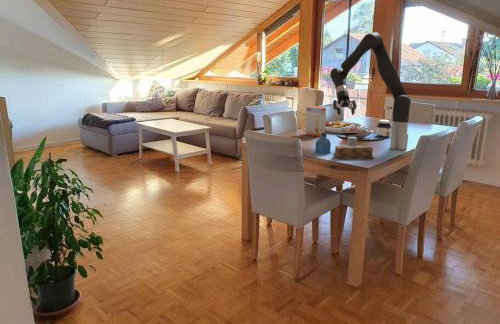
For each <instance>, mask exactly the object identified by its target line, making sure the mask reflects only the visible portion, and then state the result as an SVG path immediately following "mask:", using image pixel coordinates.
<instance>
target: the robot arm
mask: <svg viewBox="0 0 500 324" xmlns="http://www.w3.org/2000/svg"><path fill="white" fill-rule="evenodd" d="M370 50H372V51H373V54H374V56H375V59H376V64H377V65H376V66H377V71H378V73H379V75H380V77H381V79H382V81H383V82H384V84H385V85H386V86H387V88H388V89H389V90H390V92H391V94H392V98H393V100H394V101H393V104H392V105H393V106H392V123H391V127H392V130H391V135H390V143H389V148H390V149H392V150H398V151H404V150H408V149H407V148H408V141H409V140H408V139H409V134H408V127H409V122H410V121H409V119H410V110H411V109H410V106H411V103H412V100H411V98H410V96H409V94H408V92H406V90H405V88H404V87H403V84H402V82H401V79H400V76H399V74H398V72H397V69H396V67H395V66H394V63H393V62H392V60H391V57H390V55H389V54H388V51H387V49H386V45H385V44H384V41H383V38H382V35H381V34H380V33H378V32H377V31H376V32H375V31H373V32H369V33H367V34H365V35H364V36H363V38H362V39H361V40H360V42H359V43H358V44H357V46H356V48H355V49H354V50H353V51H352V52H351V53H350V54H349V56H347V57H346V59H345V60H344V61H343V62H342V63H341V64H340V67H341V69H340V68H337V67H335V68H332V69H331V70H330V74H329V75H330V78H331V81H332V83H333V85H334V88H335V95H336V99H337V100H336V99H334V100H333V101H332V105H333V110H335V111H336V113H337V114H338V115H339V116H340V115H341V113H342V112H341V108H347V109H349V110H350V111H351V115H352V116H354V115H355V112H356V111H355V110H357V107H358V106H357V103H356V100H355V99H353V100H350V94H349V90H348V87H347V82H346V79H347V76H348V74H349V73H350V71H351V70H352V69H353V68H354V67H355V66H356V65H357V64H358V63H359V61H360V59H361V58H362V57H363V56H364V54H366V53H367V52H368V51H370ZM337 104H338V106H337Z"/></svg>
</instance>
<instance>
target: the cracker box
mask: <svg viewBox="0 0 500 324" xmlns="http://www.w3.org/2000/svg"><path fill="white" fill-rule="evenodd" d="M305 113H306V114H305V135H307V136H312V137H318V138H321V133H326V132H325V123H326V121H327V119H326V118H327V107H322V106H316V105H308V106H306V112H305Z"/></svg>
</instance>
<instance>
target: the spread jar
mask: <svg viewBox="0 0 500 324" xmlns="http://www.w3.org/2000/svg"><path fill="white" fill-rule="evenodd" d="M390 122H391V121H390V120H388V119H379V123H378V124H377V125H376V127H375V135H376V136H377V137H378V136H380V137H379V138H389V137H391V131H392V124H390Z"/></svg>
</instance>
